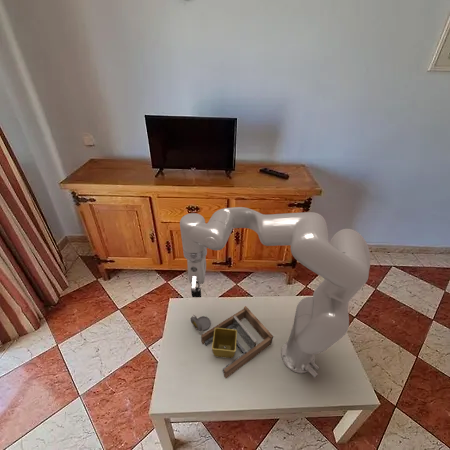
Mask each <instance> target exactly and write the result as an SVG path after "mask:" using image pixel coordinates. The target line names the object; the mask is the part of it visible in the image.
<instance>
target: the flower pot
mask: <svg viewBox="0 0 450 450" xmlns="http://www.w3.org/2000/svg"><path fill="white" fill-rule="evenodd" d="M237 336H238V332H237V330H235V328H233V329H225V328H215V329H214V337H213V342H212V343H211V351H212V354H213V356H214V357H217V358H224V359H225V358H226V359H233V358H234V357H235V355H236V354H235V353H236V351H237V346H236V339H238V337H237Z"/></svg>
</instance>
